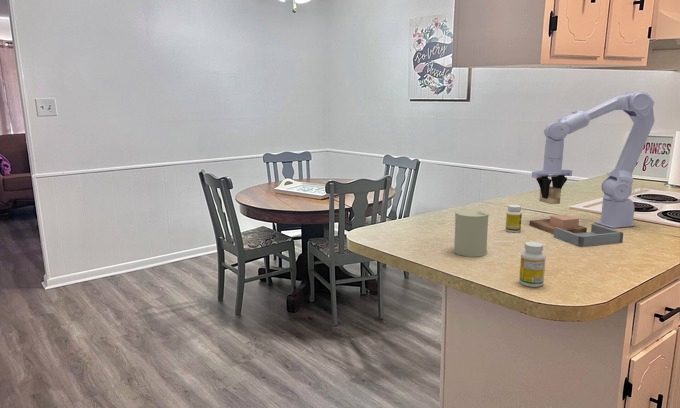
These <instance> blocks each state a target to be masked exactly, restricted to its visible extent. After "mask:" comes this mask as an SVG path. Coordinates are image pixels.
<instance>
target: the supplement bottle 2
mask: <svg viewBox="0 0 680 408" xmlns="http://www.w3.org/2000/svg"><path fill="white" fill-rule="evenodd" d="M543 251H544V244H543V243H540V242H537V241H527V242H524V250H523V251H522V252H521V255H520V267H519V268H520V269H519V283H520V284H521V285H522V286H523V285H524V286H526V287H530V288H540V287H542V286H543V285H544V282H545V269H546V254H545V253H544V252H543Z"/></svg>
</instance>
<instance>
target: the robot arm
mask: <svg viewBox="0 0 680 408" xmlns="http://www.w3.org/2000/svg"><path fill="white" fill-rule="evenodd" d="M654 104H655V101H654V99H653V98H652V97H651V95H650V94H649V93H648V92H645V91H636V92H634V91H633V92H632V91H627V92H625V93H623V94H619V95H617V96H614V97H612V98H610V99H607V100H606V101H603V102H601V103H600V104H598V105H596V106H594V107H592V108H589V109H588V110H586V111H584V110H576V109H575V110H572V111H571V113H570V114H569V115H567V116H564V117H559V118H557V121H552V122H549V123H547V124H546V126H545V128H544V130H543V133H544V135H545V145H544V158H543V168H542V169H541V170H536V171H532V172H531V178H534V179H536V181H537V184H538V186H539V188H540V189H541V194H542V198H545V199H547V198H548V194H549V187H550V186H551V185H552V186H551V187H555V188H559V189H561V190H562V189H563V186H564V185H565V183H567V181H568V177H572V176H573V170H571V169H562V168H563V158H564V156H563V155H564V145H565V144H564V143H565V138H566V137H567V136H568V135H570V134H572V133H575V132H577V131H579V130H581V129H584V128H585V127H587V126H589V123H590V121H593V120H594V119H597V118H599V117H601V116H604V115H607V114H609V113H611V112H613V111H623V112H624V113H626V115H627V116H629V118H630V119H631V121H632V123H633V124H632V127H631V129H630V132H629V134H628V136H627V138H626V142H625V143H624V146H623V149H622V151H621V152H620V155H619V158H618V160H617V162H616V165H615V167H614V169H612V171H610V172H609V173H608V176H607V177H606V178H605V180H603V181H602V183H601V186H600V187H601V191H602V192H603V197H602V205H601V215H600V220H596V221H594V224H597V225H600V226H603V227H607V228H610V229H617V228H627V227H635V226H636V225H635V223H634V215H635V203H634V202H633V200H632V199H630V197H631V194H632V192H633V190H632V186H633V182H634V177H633V172H634V170H635V168H636V166H637V163H638V161H639V159H640V157H641V154H642V151H643V149H644V147H645V144H646V142H647V140H648V137H649V135H650V133H651V131H652V128H653V126H654V124H655V115H654ZM549 177H550V178H551V179H550V178H549ZM551 183H552V184H551Z"/></svg>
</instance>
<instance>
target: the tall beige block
mask: <svg viewBox="0 0 680 408" xmlns="http://www.w3.org/2000/svg"><path fill="white" fill-rule="evenodd" d="M561 194H562V189H559V188H555V187H552V186H551V185H550V187H549V194H548V198H547V199H545V198H542V194H541V189H540V190H539V199H538V201H539V202H543V203H545V204H548V205H559V204H561V196H562V195H561Z"/></svg>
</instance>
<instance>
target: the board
mask: <svg viewBox="0 0 680 408" xmlns="http://www.w3.org/2000/svg"><path fill="white" fill-rule="evenodd" d="M528 225H529V226H530V227H533V228H535V229H538V230H541V231H543V232H547V233H549V234H552V235H554V228H555V227H554V226H551V225H550V218H544V219H532V220H529V224H528ZM587 229H588V227H585V226H582V225H579V224H578V228H571V229H563V230H566V231H569V232H572V233H585V232H587V231H588V230H587Z"/></svg>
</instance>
